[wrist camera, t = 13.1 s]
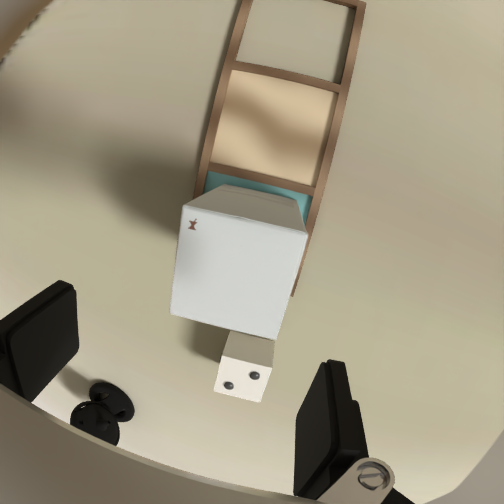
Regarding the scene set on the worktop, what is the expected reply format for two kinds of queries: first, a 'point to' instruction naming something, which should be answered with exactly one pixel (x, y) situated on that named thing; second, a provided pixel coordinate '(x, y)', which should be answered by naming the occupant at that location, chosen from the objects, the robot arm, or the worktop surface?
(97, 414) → the webcam
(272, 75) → the board
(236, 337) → the die
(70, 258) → the worktop surface
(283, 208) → the supplement box
